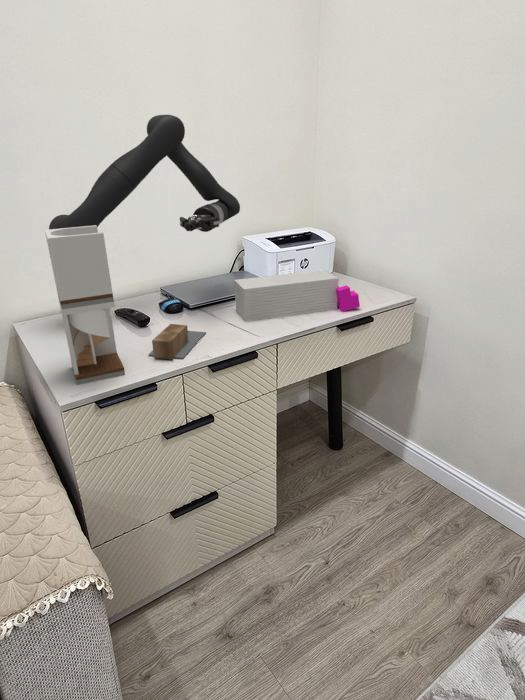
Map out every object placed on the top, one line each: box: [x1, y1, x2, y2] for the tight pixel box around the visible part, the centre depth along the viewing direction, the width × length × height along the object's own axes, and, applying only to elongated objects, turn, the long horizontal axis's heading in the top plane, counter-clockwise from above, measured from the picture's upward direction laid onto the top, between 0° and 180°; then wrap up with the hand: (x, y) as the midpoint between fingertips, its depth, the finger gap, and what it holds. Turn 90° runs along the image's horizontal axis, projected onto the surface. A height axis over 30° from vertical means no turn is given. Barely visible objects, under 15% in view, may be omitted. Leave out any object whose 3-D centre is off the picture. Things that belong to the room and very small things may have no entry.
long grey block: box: [234, 269, 340, 323], centre depth 159 cm, size 32×11×11 cm, turn 109°
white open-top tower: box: [44, 225, 126, 385], centre depth 116 cm, size 11×11×35 cm
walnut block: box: [151, 323, 189, 360], centre depth 132 cm, size 5×5×12 cm
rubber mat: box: [147, 330, 207, 360], centre depth 137 cm, size 10×18×1 cm, turn 166°
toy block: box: [333, 274, 361, 313], centre depth 164 cm, size 15×6×8 cm, turn 12°
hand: (188, 227), depth 137 cm, fingers closed
